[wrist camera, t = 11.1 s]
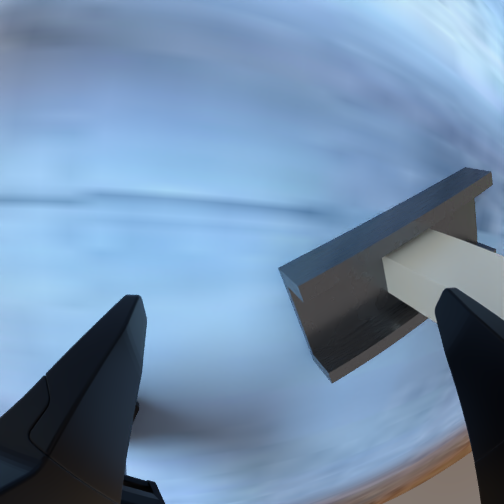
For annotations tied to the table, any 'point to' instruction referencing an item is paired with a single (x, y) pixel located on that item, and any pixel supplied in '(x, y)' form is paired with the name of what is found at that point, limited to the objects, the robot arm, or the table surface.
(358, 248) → the bottom track
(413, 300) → the cream rectangular block
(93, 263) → the table surface
